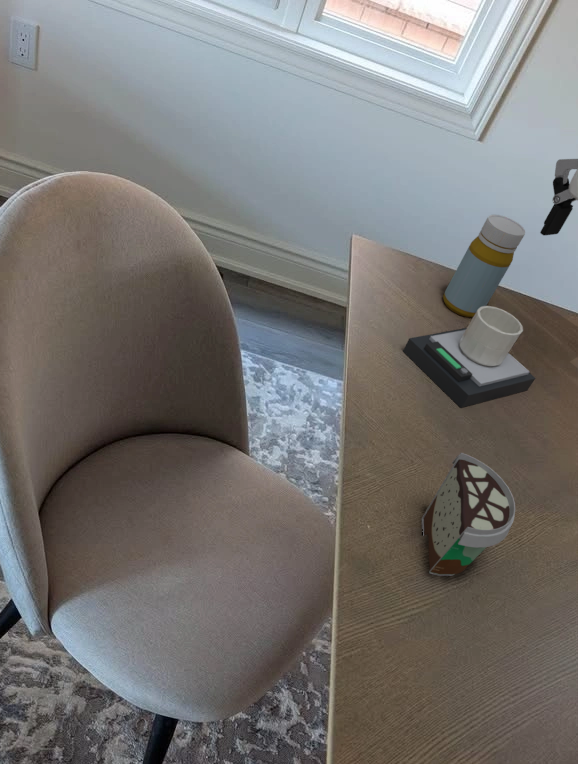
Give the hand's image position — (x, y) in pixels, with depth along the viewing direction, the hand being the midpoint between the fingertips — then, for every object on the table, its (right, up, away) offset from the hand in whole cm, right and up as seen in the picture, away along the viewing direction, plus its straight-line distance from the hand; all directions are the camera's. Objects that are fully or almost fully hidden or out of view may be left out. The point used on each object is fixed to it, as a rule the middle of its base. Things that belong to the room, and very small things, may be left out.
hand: (575, 253), depth 98 cm
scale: (-10, -13, +15) cm, 22 cm away
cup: (-8, -11, +13) cm, 19 cm away
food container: (-21, -38, -13) cm, 45 cm away
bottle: (-6, -1, +29) cm, 29 cm away
